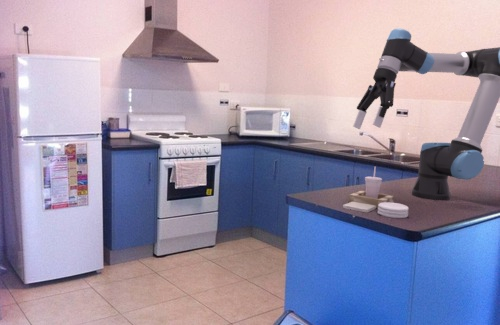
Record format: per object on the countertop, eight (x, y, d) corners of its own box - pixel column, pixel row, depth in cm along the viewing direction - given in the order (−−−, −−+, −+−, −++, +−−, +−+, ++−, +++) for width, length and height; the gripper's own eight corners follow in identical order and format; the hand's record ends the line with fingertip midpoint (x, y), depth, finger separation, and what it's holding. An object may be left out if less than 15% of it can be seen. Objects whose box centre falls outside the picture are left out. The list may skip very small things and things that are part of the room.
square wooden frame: (360, 197, 183) (361, 190, 182) (393, 203, 176) (394, 195, 175) (348, 202, 172) (349, 194, 172) (382, 208, 165) (383, 200, 165)
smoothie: (382, 203, 175) (385, 167, 173) (376, 205, 169) (380, 168, 168) (365, 200, 178) (369, 164, 176) (359, 202, 173) (363, 166, 171)
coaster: (395, 220, 150) (396, 209, 150) (371, 213, 158) (372, 203, 158) (413, 217, 156) (414, 207, 156) (389, 210, 164) (390, 200, 164)
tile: (351, 204, 170) (352, 201, 170) (375, 208, 165) (376, 205, 165) (342, 208, 162) (342, 205, 162) (367, 212, 157) (367, 209, 157)
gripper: (360, 72, 174) (340, 124, 172) (398, 60, 150) (376, 120, 148) (376, 80, 175) (357, 132, 174) (417, 70, 151) (395, 129, 150)
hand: (366, 127), depth 161 cm, fingers open, 13 cm apart
